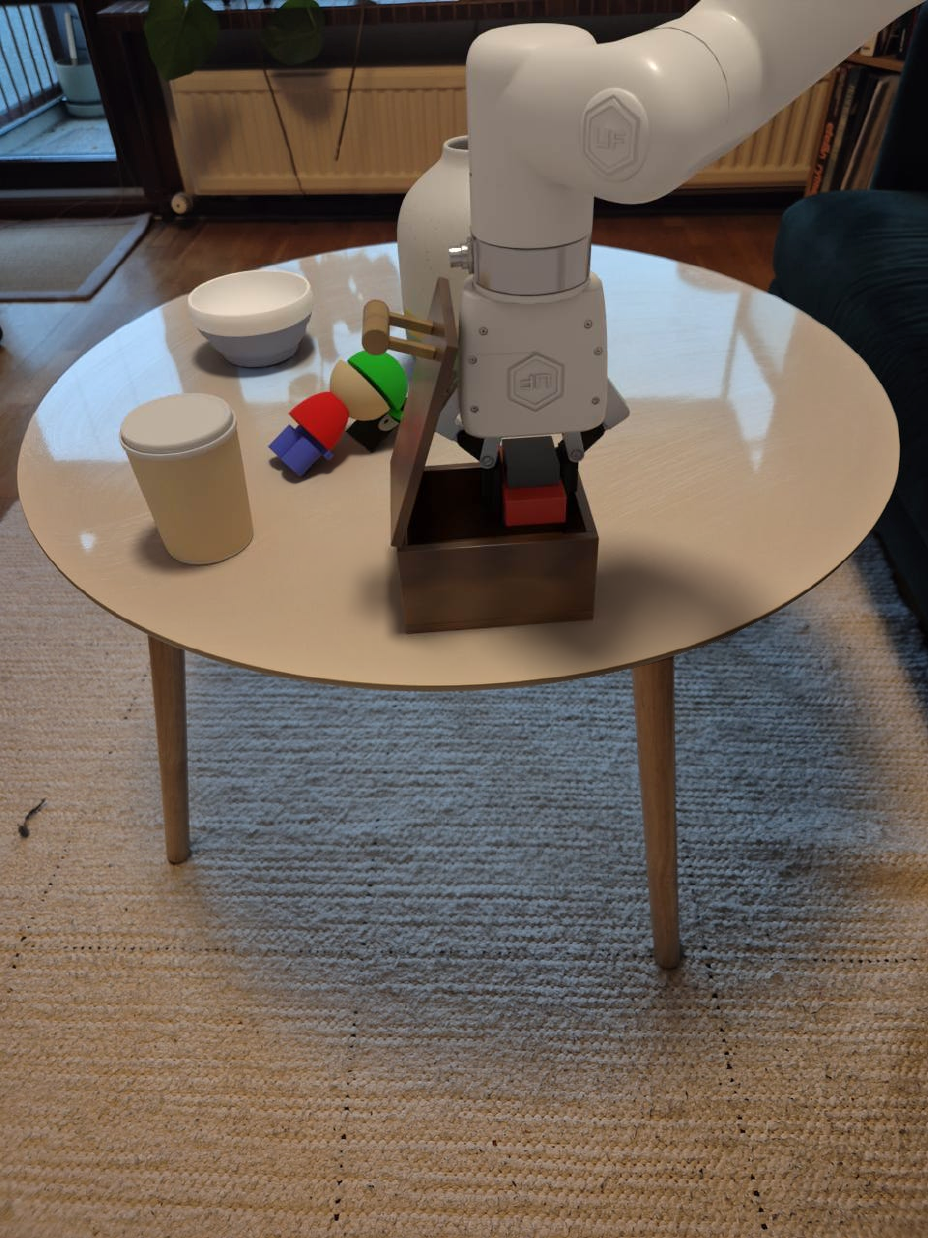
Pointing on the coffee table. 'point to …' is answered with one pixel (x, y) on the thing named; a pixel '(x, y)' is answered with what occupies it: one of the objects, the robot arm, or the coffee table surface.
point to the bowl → (253, 315)
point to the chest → (491, 559)
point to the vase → (434, 234)
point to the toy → (346, 410)
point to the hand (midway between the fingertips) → (529, 499)
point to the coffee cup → (191, 474)
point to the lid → (414, 391)
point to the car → (531, 482)
